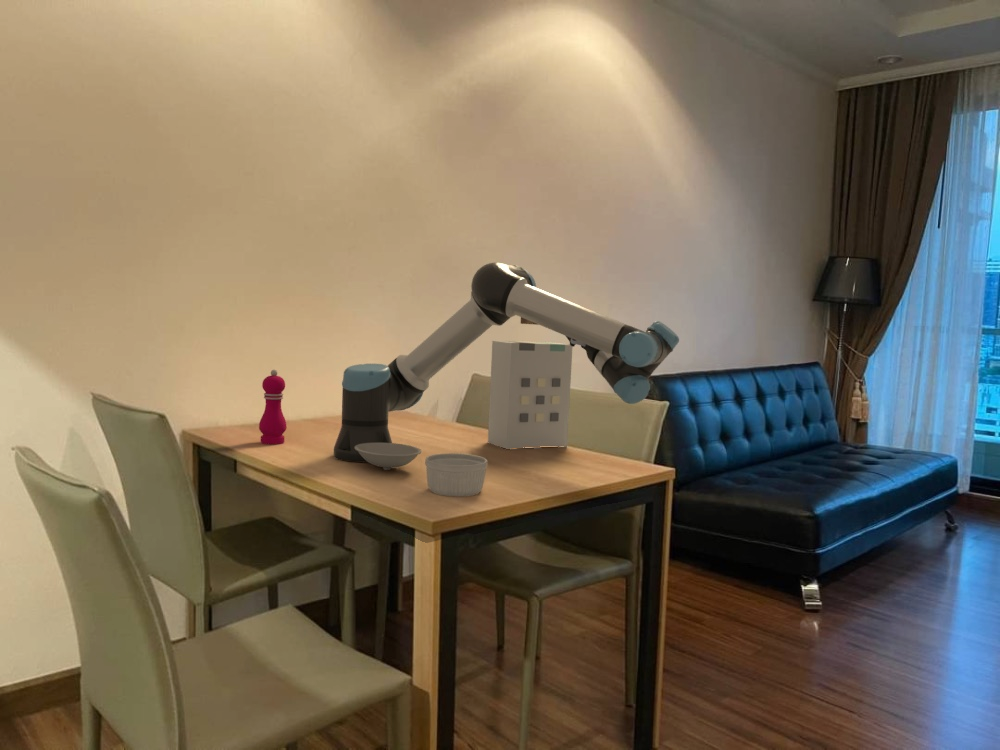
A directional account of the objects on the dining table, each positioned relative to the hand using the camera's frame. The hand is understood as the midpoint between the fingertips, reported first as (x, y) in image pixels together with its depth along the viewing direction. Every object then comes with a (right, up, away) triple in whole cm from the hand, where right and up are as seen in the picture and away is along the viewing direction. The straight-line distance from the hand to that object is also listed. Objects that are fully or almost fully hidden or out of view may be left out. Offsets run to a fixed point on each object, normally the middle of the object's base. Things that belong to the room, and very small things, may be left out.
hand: (566, 308), depth 208 cm
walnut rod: (-3, -4, +6) cm, 8 cm away
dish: (-45, -40, -24) cm, 65 cm away
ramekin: (-27, -43, -43) cm, 67 cm away
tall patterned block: (-10, -38, +20) cm, 44 cm away
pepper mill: (-80, -36, +4) cm, 88 cm away
